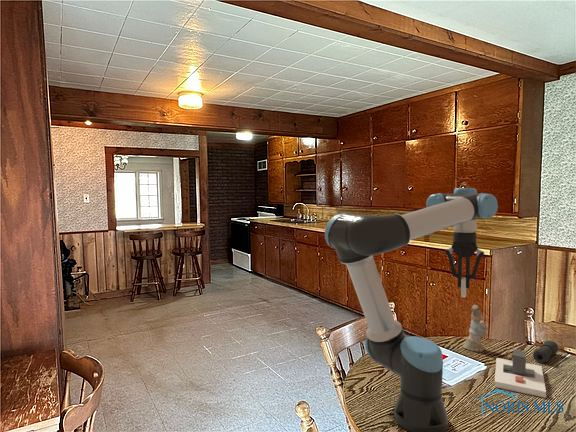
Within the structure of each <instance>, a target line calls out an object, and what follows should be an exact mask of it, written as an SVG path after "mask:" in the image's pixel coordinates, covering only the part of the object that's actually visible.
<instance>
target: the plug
mask: <svg viewBox="0 0 576 432" xmlns="http://www.w3.org/2000/svg"><path fill="white" fill-rule="evenodd" d="M526 358H527V356H526V351H524V350H519V349H512V361H513V370H512V374H515V375H520V376H525V370H526V363H527V362H526V360H527V359H526Z"/></svg>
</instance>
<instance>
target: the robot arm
mask: <svg viewBox="0 0 576 432" xmlns="http://www.w3.org/2000/svg"><path fill="white" fill-rule="evenodd" d="M425 203H426V207H424V208H421V209H417V210H413V211H411V212H407V213H404V214H399V213H392V214H389V215H387V214H386V215H369V214H353V213H350V212H345V213H339V214H336V215H334V216H333V217H331V218H330V219H329V221H328V222H327V225H326V226H325V229H324V239H325V242H326V244H327V245H328V246H329V247H330V248H332V250H335V252H336V255H337V258H338V260H339V262H340V264H342V265H346V268H347V270H348V273H349V274H348V275H349V276H350V279H351V282H352V285H353V288H354V290H355V293H356V295H357V298H358V301H359V304H360V308H361V310H362V313H363V315H364V317H365V320H366V323H367V325H368V328H367V330H366V337H365V338H366V340H365V341H364V342H365V343H364V348H365V350H366V352H367V353H366V354H367V355H368V356H369V358H371V360H373V361H374V362H375V363H376V364H378V365H380V366H382V367H383V368H385V369H386V370H388V371H390V372H391V373H393V374H395V375H397V376H398V377H399V378H400V392H399V395H398V396H397V397H398V398H397V400H396V403H395V406H394V409H393V410H394V411H393V413H394V414H393V415H394V416H393V417H394V420H395V422H396V423H397V424H398V425H399V426H400V427H402V428H403V429H405V430H406V431H408V432H445V431H446V430H447V429H448V427H449V416H448V413H447V410H446V406H445V404H444V401H443V393H442V392H443V374H444V373H443V372H444V371H443V369H444V360H443V352H442V350H441V348H440V346H439V345H438V344H437V343H436V342H434V341H433V340H430V339H429V338H425V337H421V336H411V335H410V336H406V335H405V332H404V330H403V329H404V328H403V326H402V323H401V322H400V321H398V320H395V317H394V314H393V312H392V309H391V306H390V303H389V300H388V296H387V294H386V291H385V289H384V286H383V283H382V280H381V277H380V274H379V271H378V268H377V264H376V262H375V260H374V256H376V255H381V254H385V253H389V252H391V251H394V250H397V249H401V248H403V247H406V246H408V245H409V243H410V241H412V240H415V239H418V238H421V237H424V236H427V235H430V234H432V233H435V232H439V231H442V230H445V229H448V228H451V227H453V228H452V229H453V235H452V236H453V237H452V239H453V240H452V244H451V246H450V247H449V248H447V249H445V251H444V253H445V254H446V256H447V258H448V262H449V267H450V270H451V275H452V277H455V278H457V287H458V288H460V297H461V298H466V297H467V289H470V288H471V287H470V285H471V279H475V278H476V276H477V273H478V269H479V265H480V262H481V259H482V258H483V256H484V255H485V251H483V250H480V249H479V248H478V245H477V233H476V232H477V224H478V223H477V219H478V218H479V219H490V218H493V217H494V216H495V215H496V214H497V212H498V209H499V205H498V199H497V198H496V197H495V195H493V194H491V193H484V192H480V193H478V191H477V189H476V188H475V187H455V188H454V190H453V193H439V192H438V193H434V194H431V195H429V196H428V198H427V200H426V202H425ZM453 252H454V254H455V255H456V256H457V268H456V264H455V260H454V257H453ZM475 253H476V254H475ZM474 254H475V255H476V260H475V262H474V266H473V269H472V272H471V257H472V256H474ZM464 258H465V277H463V259H464Z"/></svg>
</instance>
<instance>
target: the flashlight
mask: <svg viewBox="0 0 576 432" xmlns="http://www.w3.org/2000/svg"><path fill="white" fill-rule="evenodd" d="M559 349H560V347H559V345H558V343H557V342H556V341H555V340H552V339H547V340H545V341H544V342H543V343H542V344H541V345H540V347H539V348H537V349H535V350H534V351H533V353H532V356H533V359H534V361H536V362H537V363H539V364H545V363H547V362H549V360H550V358H551V357H552V356H554V355H556V354H557V353H558V352H559V351H560V350H559Z"/></svg>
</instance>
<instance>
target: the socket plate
mask: <svg viewBox="0 0 576 432" xmlns="http://www.w3.org/2000/svg"><path fill="white" fill-rule="evenodd" d="M512 370H513V359H512V360H511V359H506V358H500V357H496V359H495V372H494V383H493V385H494V388H498V389H502V390H508V391H513V392H518V393H522V394H526V395H532V396H536V397H541V398H547V390H546V384H545V378H544V373H543V366H542V365H537V364H533V363H527V362H526V370H525V376H520V375H515V374H512Z"/></svg>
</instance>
